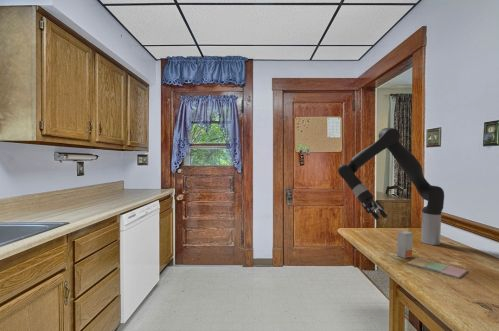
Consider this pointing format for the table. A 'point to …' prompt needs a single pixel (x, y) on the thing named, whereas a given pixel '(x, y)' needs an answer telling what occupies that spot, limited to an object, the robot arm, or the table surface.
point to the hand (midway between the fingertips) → (382, 218)
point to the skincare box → (404, 244)
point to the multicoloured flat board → (438, 267)
